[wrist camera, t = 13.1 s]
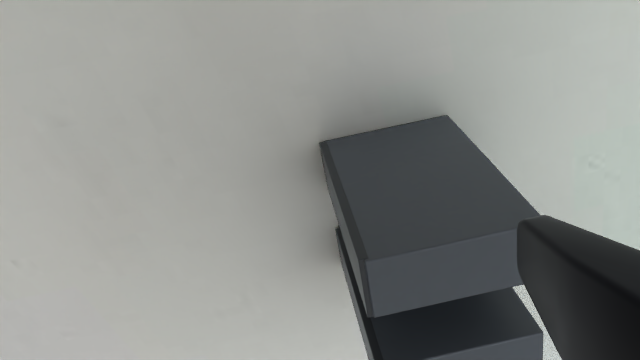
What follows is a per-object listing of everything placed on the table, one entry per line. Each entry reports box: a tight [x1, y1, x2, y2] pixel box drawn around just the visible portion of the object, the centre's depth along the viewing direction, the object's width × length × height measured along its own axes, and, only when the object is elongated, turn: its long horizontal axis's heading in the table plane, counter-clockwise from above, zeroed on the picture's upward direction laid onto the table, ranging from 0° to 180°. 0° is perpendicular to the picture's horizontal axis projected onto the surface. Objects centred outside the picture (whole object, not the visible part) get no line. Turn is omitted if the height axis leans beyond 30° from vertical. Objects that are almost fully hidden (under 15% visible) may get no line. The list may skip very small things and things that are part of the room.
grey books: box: [319, 115, 543, 360], centre depth 20 cm, size 5×6×8 cm
